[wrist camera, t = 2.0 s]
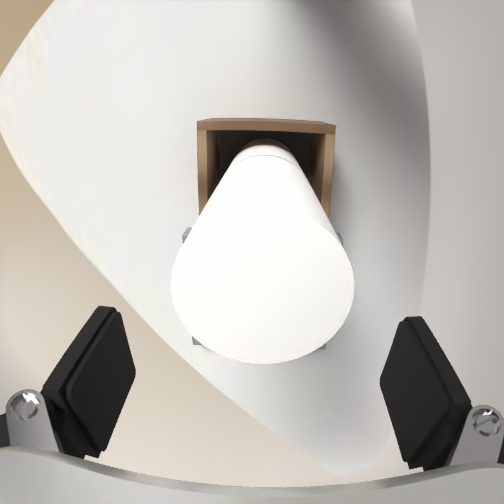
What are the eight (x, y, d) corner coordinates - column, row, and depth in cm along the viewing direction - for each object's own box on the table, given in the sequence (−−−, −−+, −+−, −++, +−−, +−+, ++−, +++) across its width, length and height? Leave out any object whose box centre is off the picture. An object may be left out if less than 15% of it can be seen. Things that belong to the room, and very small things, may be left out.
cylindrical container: (307, 186, 35) (372, 331, 13) (249, 211, 37) (223, 379, 14) (281, 128, 33) (317, 174, 10) (221, 155, 34) (136, 254, 12)
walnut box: (212, 118, 33) (196, 121, 25) (320, 121, 32) (335, 125, 25) (213, 218, 38) (200, 247, 30) (313, 222, 37) (324, 251, 30)
